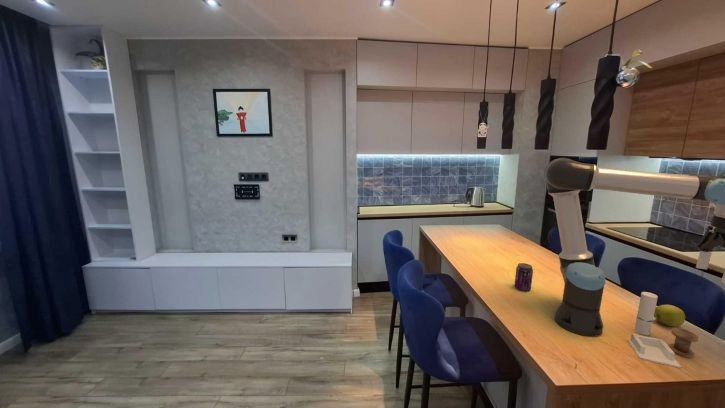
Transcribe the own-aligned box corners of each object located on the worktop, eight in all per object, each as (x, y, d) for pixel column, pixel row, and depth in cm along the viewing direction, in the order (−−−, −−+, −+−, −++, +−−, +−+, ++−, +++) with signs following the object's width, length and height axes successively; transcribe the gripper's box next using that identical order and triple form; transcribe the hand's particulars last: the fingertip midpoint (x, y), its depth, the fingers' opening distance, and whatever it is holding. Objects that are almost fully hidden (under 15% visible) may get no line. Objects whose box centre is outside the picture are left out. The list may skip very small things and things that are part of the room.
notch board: (639, 358, 96) (641, 350, 95) (627, 340, 105) (628, 332, 104) (681, 368, 91) (683, 359, 91) (664, 348, 101) (666, 340, 100)
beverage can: (527, 293, 138) (530, 269, 136) (511, 288, 143) (514, 265, 141) (532, 289, 143) (535, 265, 141) (517, 284, 148) (520, 261, 146)
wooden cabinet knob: (673, 354, 97) (677, 336, 96) (664, 344, 103) (668, 326, 101) (698, 360, 95) (702, 341, 94) (687, 349, 100) (692, 330, 99)
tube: (633, 326, 113) (641, 290, 110) (649, 331, 110) (657, 294, 107) (634, 332, 109) (642, 295, 107) (650, 336, 107) (658, 298, 104)
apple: (690, 332, 110) (695, 312, 108) (662, 329, 111) (666, 310, 110) (672, 320, 117) (676, 302, 116) (646, 318, 119) (650, 299, 117)
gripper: (778, 227, 86) (757, 293, 90) (720, 211, 108) (705, 264, 113) (742, 224, 89) (723, 288, 93) (692, 208, 111) (679, 261, 116)
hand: (713, 275), depth 103 cm, fingers open, 13 cm apart
